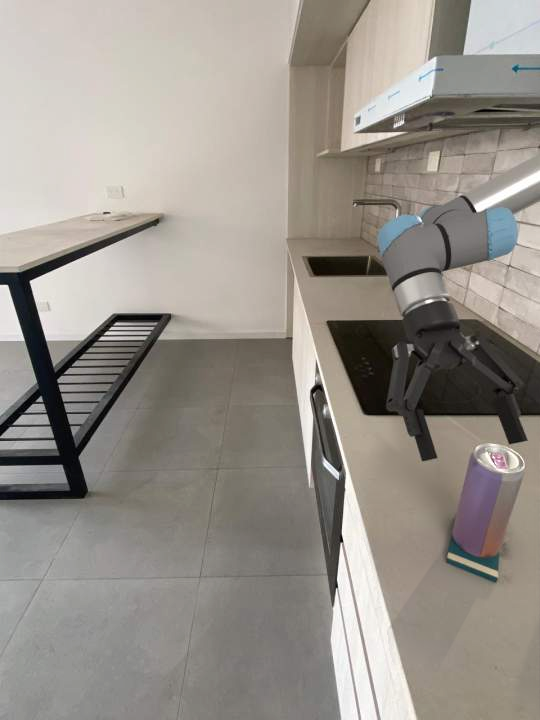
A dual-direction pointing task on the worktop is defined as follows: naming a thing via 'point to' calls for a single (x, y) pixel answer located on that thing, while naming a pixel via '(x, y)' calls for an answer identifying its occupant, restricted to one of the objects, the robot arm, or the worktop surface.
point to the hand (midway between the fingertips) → (475, 451)
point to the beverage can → (487, 499)
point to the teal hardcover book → (473, 562)
